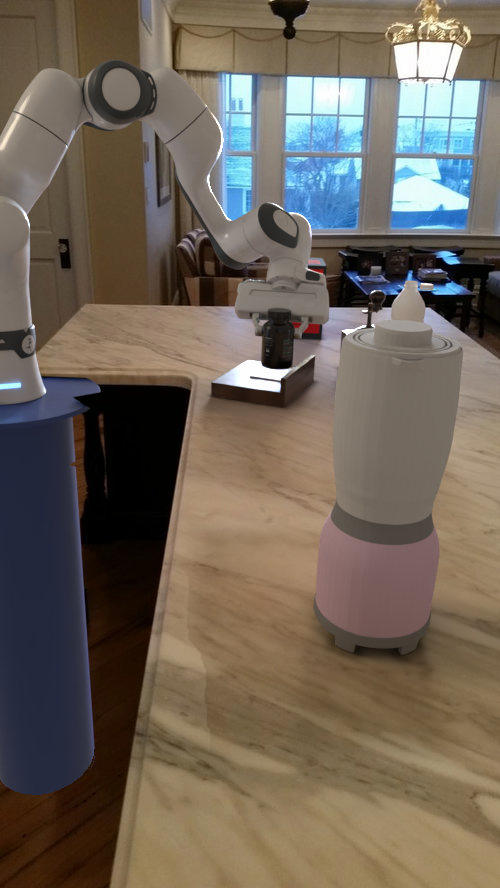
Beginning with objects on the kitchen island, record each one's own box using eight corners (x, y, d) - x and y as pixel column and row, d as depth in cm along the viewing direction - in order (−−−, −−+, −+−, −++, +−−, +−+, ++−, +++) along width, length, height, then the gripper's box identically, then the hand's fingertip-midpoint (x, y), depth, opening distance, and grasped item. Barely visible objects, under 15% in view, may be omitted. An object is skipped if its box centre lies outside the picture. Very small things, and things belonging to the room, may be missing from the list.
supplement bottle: (254, 364, 151) (256, 308, 147) (278, 360, 155) (281, 305, 151) (274, 372, 146) (277, 314, 142) (299, 367, 150) (302, 311, 146)
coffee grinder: (395, 380, 160) (404, 301, 154) (348, 380, 159) (355, 300, 152) (376, 362, 175) (384, 288, 168) (333, 362, 173) (339, 288, 167)
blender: (440, 662, 69) (492, 344, 58) (316, 657, 70) (343, 339, 58) (410, 575, 84) (447, 307, 72) (308, 571, 84) (328, 303, 72)
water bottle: (374, 401, 145) (387, 278, 136) (398, 397, 148) (413, 277, 139) (402, 414, 138) (418, 286, 129) (427, 410, 141) (444, 284, 132)
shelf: (211, 396, 145) (211, 368, 143) (247, 372, 163) (248, 346, 160) (284, 407, 140) (285, 378, 138) (313, 381, 157) (315, 355, 155)
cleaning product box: (287, 325, 210) (291, 256, 203) (317, 326, 210) (322, 257, 203) (289, 338, 195) (293, 264, 188) (321, 339, 195) (326, 265, 188)
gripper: (237, 270, 152) (227, 324, 146) (332, 275, 149) (326, 331, 143) (240, 287, 157) (231, 340, 152) (332, 293, 154) (326, 347, 149)
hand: (278, 336), depth 148 cm, fingers closed on supplement bottle, 7 cm apart
